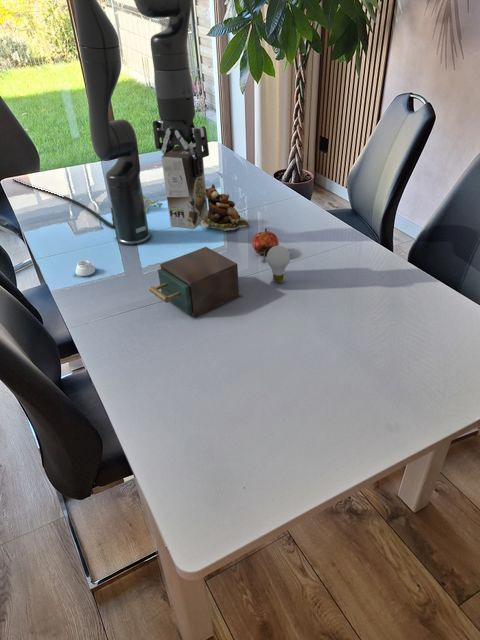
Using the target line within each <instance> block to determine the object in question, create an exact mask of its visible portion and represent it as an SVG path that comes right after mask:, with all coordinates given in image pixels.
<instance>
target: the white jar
mask: <svg viewBox="0 0 480 640" xmlns="http://www.w3.org/2000/svg"><path fill="white" fill-rule="evenodd" d="M95 272H96V269H95V266H94V265H93V264H92V263H91V262H90V261H89V260H87V259H86V260H80V261H78V262H77V265H76V268H75V274H76V275H77V276H79V277H86V276H90V275H92V274H93V273H95Z"/></svg>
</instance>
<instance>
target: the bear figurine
mask: <svg viewBox="0 0 480 640" xmlns="http://www.w3.org/2000/svg"><path fill="white" fill-rule="evenodd" d="M206 197H207V207H208V215H207V216H206V217H205V218H204V220H203V221H202V222H201V223H200V224H201V226H202V227H204V229H208V228H212V229H217V230H221V231H224V232H226V231H236V230H237V229H239V228H243V227H244V228H245V227H249V226H250V224H249V222H248V221H247V220H246V219H244V218H242V217H241V215H240V214H239V212H238V210H237V209H236V208H235V206H236V204H235V202H234V200H230V199H229V198H230V194H229V193H227V194H226V193H220V192H218V190H217V189H216V185H215V184H213V183H212V184H211V187H208V188H206Z"/></svg>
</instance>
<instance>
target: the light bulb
mask: <svg viewBox="0 0 480 640" xmlns="http://www.w3.org/2000/svg"><path fill="white" fill-rule="evenodd" d="M290 261H291V254H290V251H289V249H287V248H286V247H285V246H283V245H279V246H274V247H272V248H271V249H270V250H269V251H268V253H267V254H266V262H267V264H268V266H269V267H270V269H271V272H272V278H273V281H274V282H275V283H277V284H280V283H281V282H283V281H284V278H285V277H284V276H285V271H286V268H287V267H288V265H289V264H290Z"/></svg>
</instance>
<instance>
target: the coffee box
mask: <svg viewBox="0 0 480 640" xmlns="http://www.w3.org/2000/svg"><path fill="white" fill-rule="evenodd" d="M193 151H194V152H195V150H194V149H193ZM195 154H196V152H195ZM191 160H192V158H191V156H190V154H189V153H188V152H187V151H185V149H184V147H181V146H179V145H175V146H174V148H173V149H172V150H170V151H169V152H167V153H166V154H163V155H161V165H162V172H163V180H164V186H165V187H164V188H165V194H166V201H167V208H168V215H169V223H170V225H169V226H170V227H171V228H180V229H190V230H196V229H197V228H198V226H199V225H200V224H201V222H202V221H203V220H204V218H205V217H206V216H207V215H208V210H209V207H208V199H207V197H206V177H205V165H204V158H202V166H203V174H202V176H200V177H197V178H196V177H193V170H192V161H191Z"/></svg>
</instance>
